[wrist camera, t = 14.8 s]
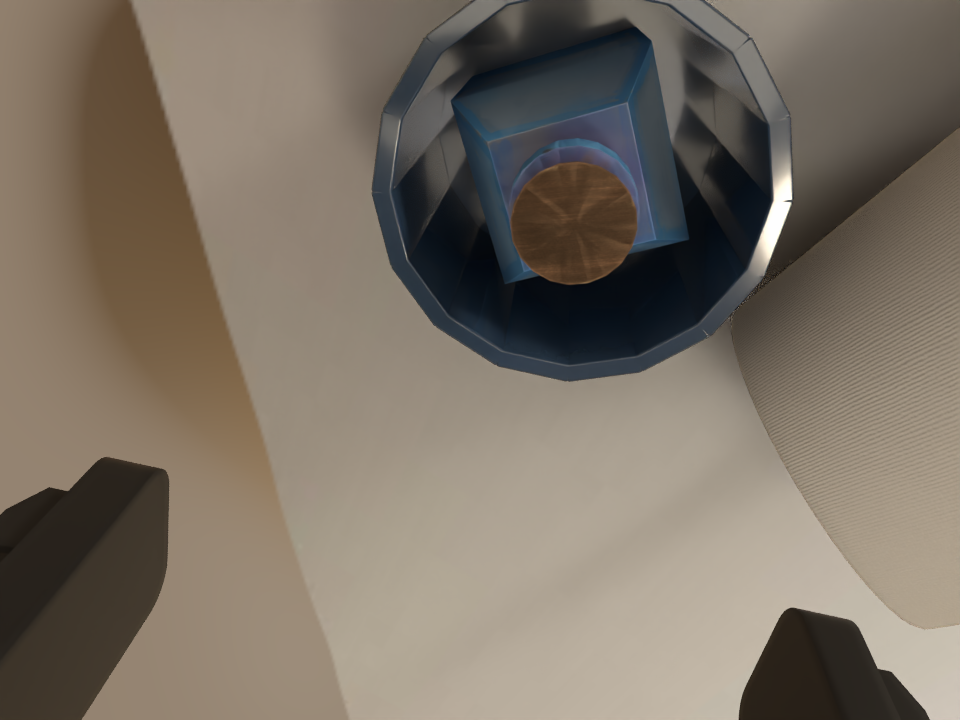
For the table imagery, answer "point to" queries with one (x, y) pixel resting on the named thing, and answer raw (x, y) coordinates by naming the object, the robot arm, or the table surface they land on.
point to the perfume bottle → (573, 159)
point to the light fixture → (874, 385)
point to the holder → (642, 275)
